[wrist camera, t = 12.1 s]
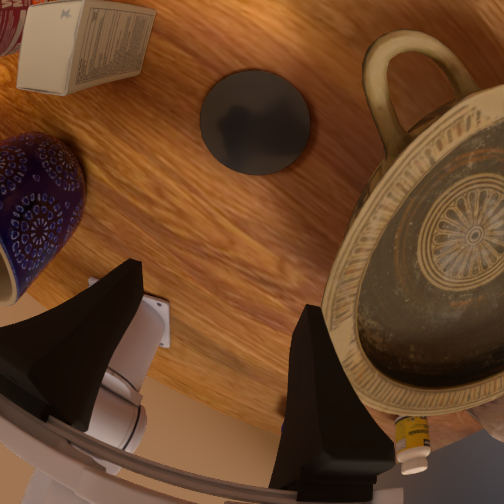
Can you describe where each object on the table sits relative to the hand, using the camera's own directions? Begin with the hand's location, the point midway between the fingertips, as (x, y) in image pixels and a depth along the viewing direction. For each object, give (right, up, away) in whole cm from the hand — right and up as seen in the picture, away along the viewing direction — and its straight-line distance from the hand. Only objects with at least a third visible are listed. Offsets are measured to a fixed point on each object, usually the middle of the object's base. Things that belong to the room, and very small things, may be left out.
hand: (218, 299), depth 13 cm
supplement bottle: (+26, -24, +25) cm, 44 cm away
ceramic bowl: (+18, +5, +6) cm, 19 cm away
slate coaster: (+2, +10, +5) cm, 12 cm away
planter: (-16, +9, +10) cm, 21 cm away
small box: (-7, +16, +3) cm, 18 cm away
